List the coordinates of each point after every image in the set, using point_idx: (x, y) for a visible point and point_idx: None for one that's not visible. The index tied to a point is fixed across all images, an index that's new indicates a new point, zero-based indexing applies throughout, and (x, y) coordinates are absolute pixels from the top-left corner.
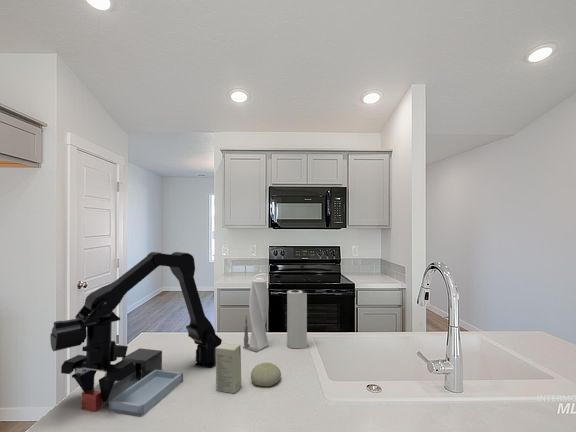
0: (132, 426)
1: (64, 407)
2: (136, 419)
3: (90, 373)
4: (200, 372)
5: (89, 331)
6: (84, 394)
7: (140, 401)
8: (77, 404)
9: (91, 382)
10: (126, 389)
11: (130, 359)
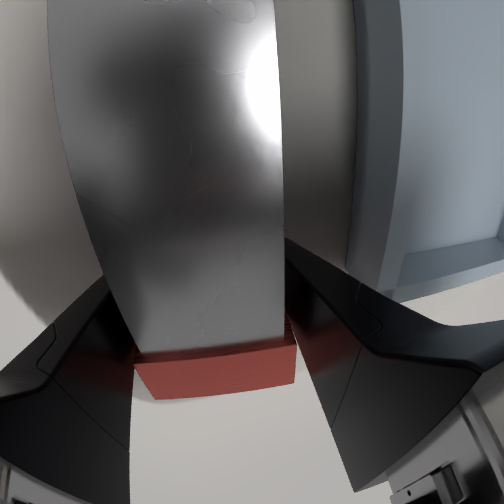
0: (474, 289)
1: None
2: None
3: (63, 466)
4: None
5: None
6: (182, 393)
7: (479, 164)
8: (83, 287)
9: (92, 369)
10: (404, 129)
11: None
